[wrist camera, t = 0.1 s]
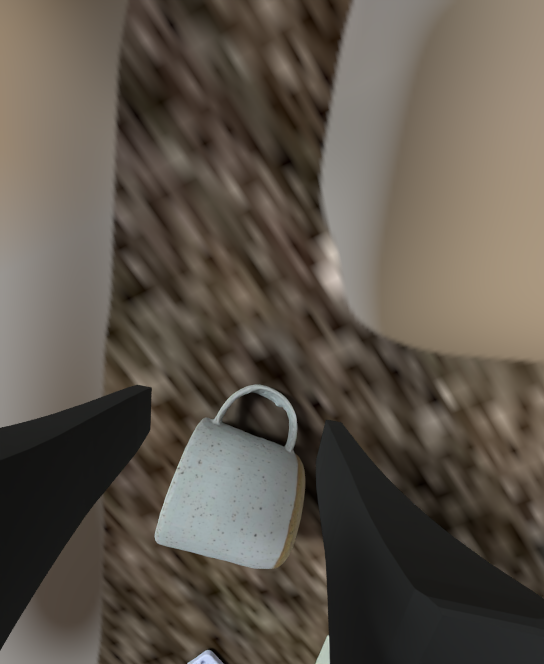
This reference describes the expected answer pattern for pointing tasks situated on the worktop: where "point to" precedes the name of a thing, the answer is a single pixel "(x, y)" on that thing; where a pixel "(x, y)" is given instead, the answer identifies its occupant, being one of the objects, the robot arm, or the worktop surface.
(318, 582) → the worktop surface
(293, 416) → the ceramic mug
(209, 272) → the worktop surface
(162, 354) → the worktop surface
